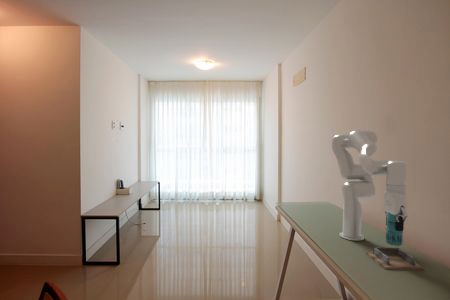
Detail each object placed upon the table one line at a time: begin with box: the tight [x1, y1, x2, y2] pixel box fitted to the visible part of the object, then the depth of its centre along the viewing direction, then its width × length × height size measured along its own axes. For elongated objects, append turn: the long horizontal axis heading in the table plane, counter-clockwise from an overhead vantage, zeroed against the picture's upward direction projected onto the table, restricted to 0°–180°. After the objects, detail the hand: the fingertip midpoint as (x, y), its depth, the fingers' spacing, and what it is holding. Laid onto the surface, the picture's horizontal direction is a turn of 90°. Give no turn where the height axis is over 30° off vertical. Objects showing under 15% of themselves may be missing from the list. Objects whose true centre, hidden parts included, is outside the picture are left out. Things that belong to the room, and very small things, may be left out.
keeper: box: [365, 246, 424, 271], centre depth 123 cm, size 16×16×4 cm
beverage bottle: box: [385, 212, 404, 247], centre depth 123 cm, size 6×7×20 cm
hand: (394, 227), depth 123 cm, fingers closed on beverage bottle, 6 cm apart
